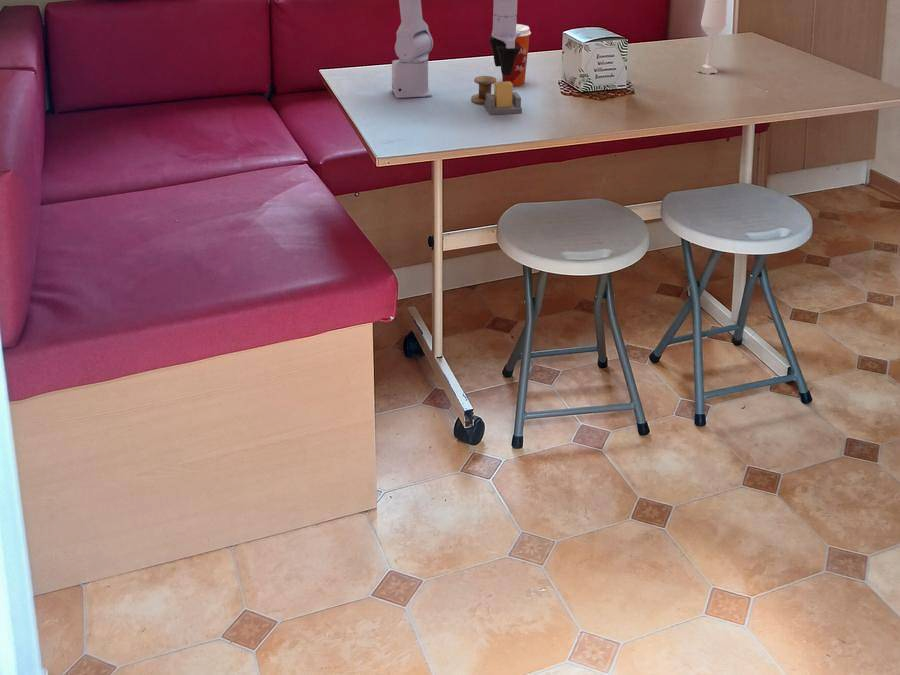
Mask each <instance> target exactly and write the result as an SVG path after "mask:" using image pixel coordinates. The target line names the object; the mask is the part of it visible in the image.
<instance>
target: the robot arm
mask: <svg viewBox="0 0 900 675" xmlns="http://www.w3.org/2000/svg"><path fill="white" fill-rule="evenodd" d="M398 5H399V12H400V13H399V14H400V21H401V22H400V25H399V26H398V29H397V31H396V33H395V34H396V41H395V44H394V51H395V54H396V56H397V58H398V59H394V60H392V62H391V80H392V81H391V90H392V93H393V95H394V96H395V99H401V98H402V99H404V98H422V97H424V98H426V97H432V93H431V91H430V89H429V53H430V52H431V51H432V49H433V47H434V40H433V36H432V35H431V33H430V30H429V25H428V24H427V22H425V20H424V19H423V18H424V17H423V11H422V9H423V8H422V0H398ZM492 9H493V10H492V11H493V12H492V13H493V14H492V15H493V16H492V31H491V36H488V37H487V39H488V41H489V44H490V47H491V49H492V56H493V63H494V66H495V67H500V71H501V76H502V75H511V72H512V69H513V65H514V61H515V58H516V56H517V54H518V53H519V51H520V47H519V46H515V39H516V37H517V36H521V33H520V32H519V31H516V24H517V15H518V0H493V8H492Z"/></svg>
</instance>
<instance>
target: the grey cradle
mask: <svg viewBox="0 0 900 675" xmlns="http://www.w3.org/2000/svg"><path fill="white" fill-rule="evenodd" d="M492 94H493V93H492V92H491V93H486V101H485V105H484V108H485V109H486V111H487V112H488V113H489V115H490V116H491V115H492V114H493V115H508V114H512V115H513V114H522V111H523V110H522V109H523V108H522V107H521V106H522V97H521V96H520V94H518V92H517V91H513V94H512V106H509V107H496V106H495V98H494V97H493V96H492ZM493 115H492V116H493Z"/></svg>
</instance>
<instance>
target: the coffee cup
mask: <svg viewBox="0 0 900 675" xmlns="http://www.w3.org/2000/svg"><path fill="white" fill-rule="evenodd" d="M516 31H519V32H520V33H521V36H517V37H516V39H515V46H519V47H520V51H519V53H518V54H517V56H516V58H515V61H514V65H513V69H512V72H511V75H502V74H501V77H502V79H501V80H502V81H501V82H506V81H510V82H511V83H512V84H513V87H520V86H524V85H525V80H526V73H527V62H528V56H529V54H528V53H529V46H530V45H529V43H530V35H531V34H532V32H531V31H530V27H529V25H525V24H521V23H520V24H519V23H516Z"/></svg>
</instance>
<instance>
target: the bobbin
mask: <svg viewBox="0 0 900 675" xmlns="http://www.w3.org/2000/svg"><path fill="white" fill-rule="evenodd" d="M473 82H474V83H475V84H478V93H476V94H473V95H471V97H470V98H471V99H470V102H472V103H473V104H476V105H481V106H482V105H484V106H485V101H486V93H491V94H492V96H493V97H494V93H492V85H493V84H494V83H495V82H497V78H496V77H493V76H491V75H481V76H480V75H479V76H476V77H474V80H473Z"/></svg>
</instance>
